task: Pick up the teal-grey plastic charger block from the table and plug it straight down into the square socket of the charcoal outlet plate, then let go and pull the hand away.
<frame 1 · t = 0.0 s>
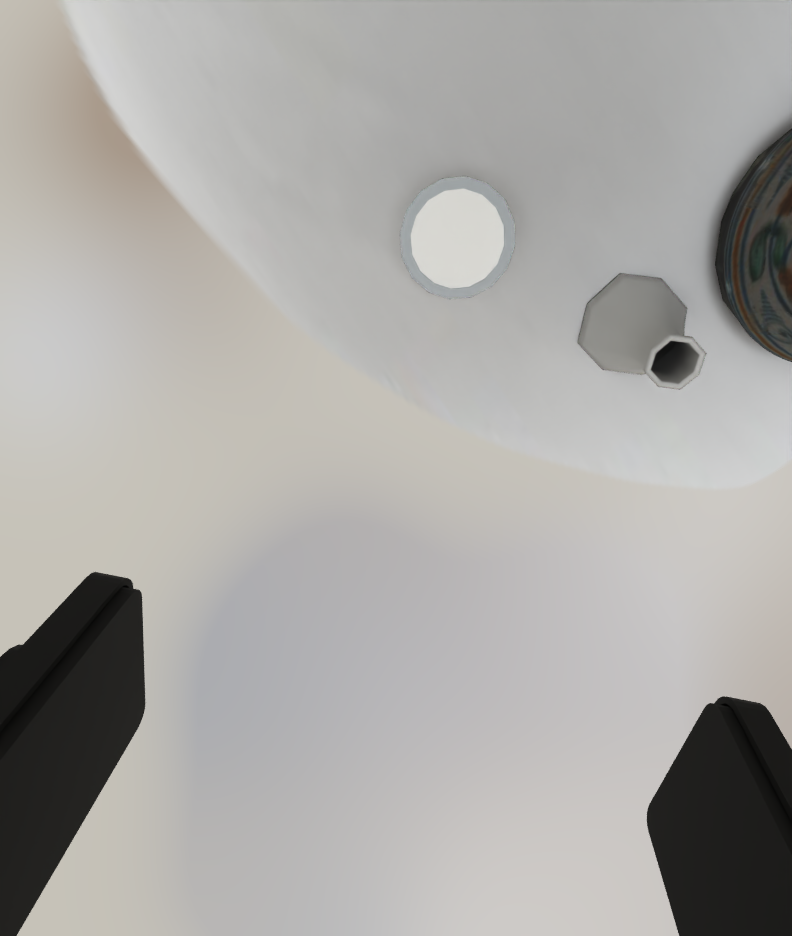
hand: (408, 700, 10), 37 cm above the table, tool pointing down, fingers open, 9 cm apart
grey cylinder: (457, 231, 41), on the table
flask: (629, 324, 43), on the table
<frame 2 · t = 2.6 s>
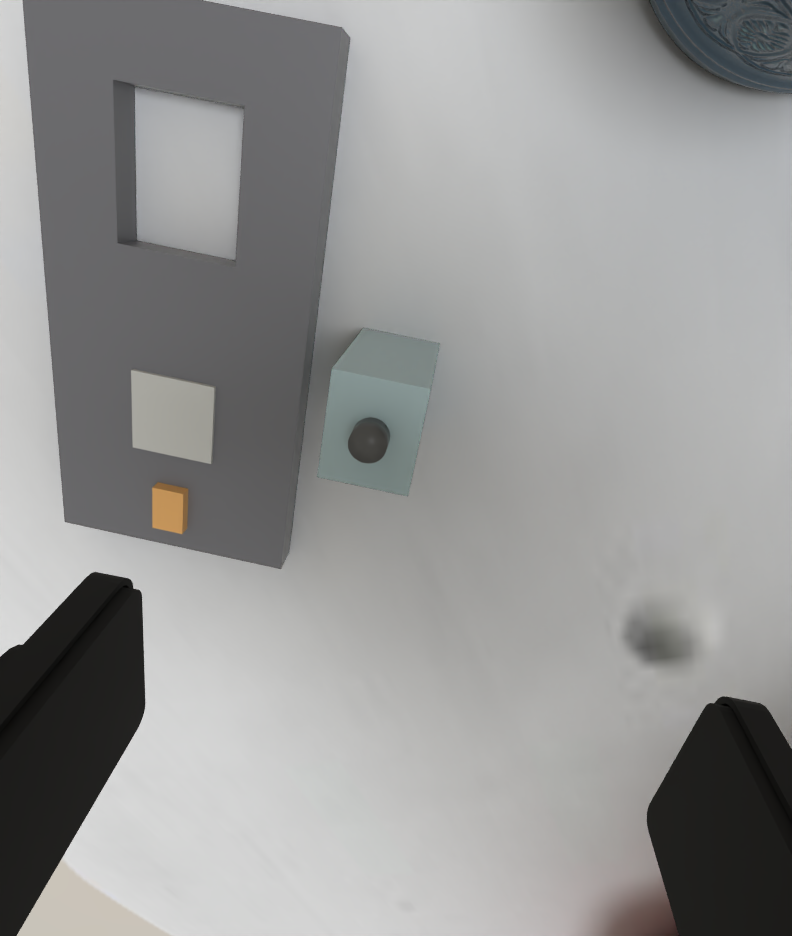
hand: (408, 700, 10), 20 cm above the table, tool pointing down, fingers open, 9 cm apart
charger: (393, 380, 28), on the table
outlet plate: (190, 317, 28), on the table
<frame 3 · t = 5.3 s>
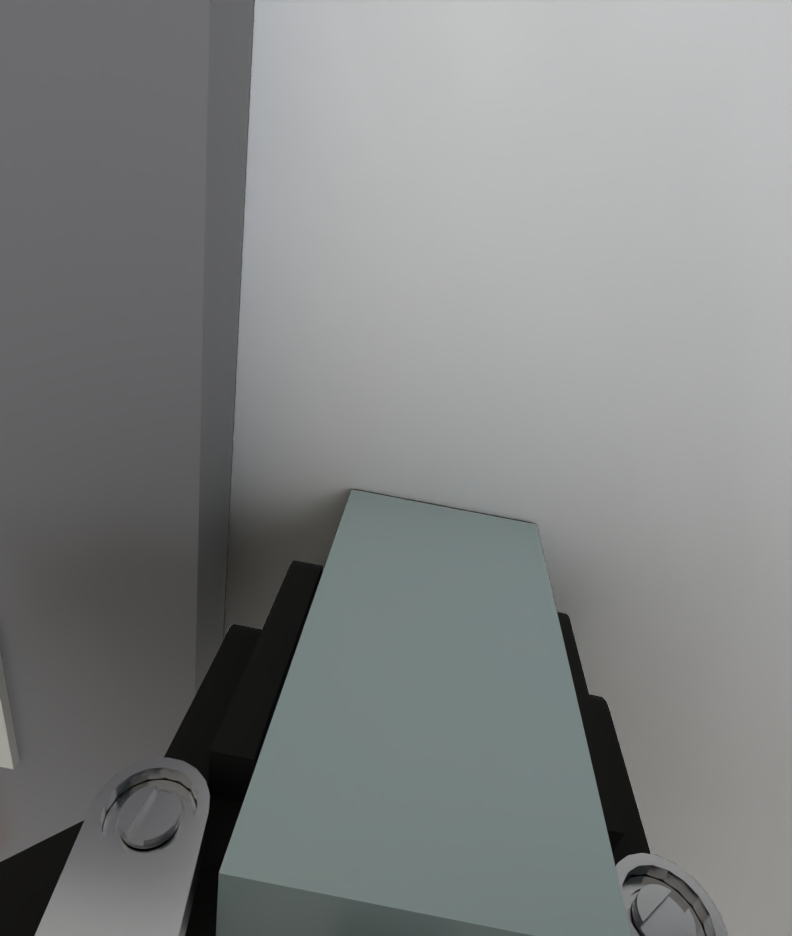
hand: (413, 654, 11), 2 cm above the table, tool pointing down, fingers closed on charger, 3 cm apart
charger: (423, 597, 12), on the table, touching gripper
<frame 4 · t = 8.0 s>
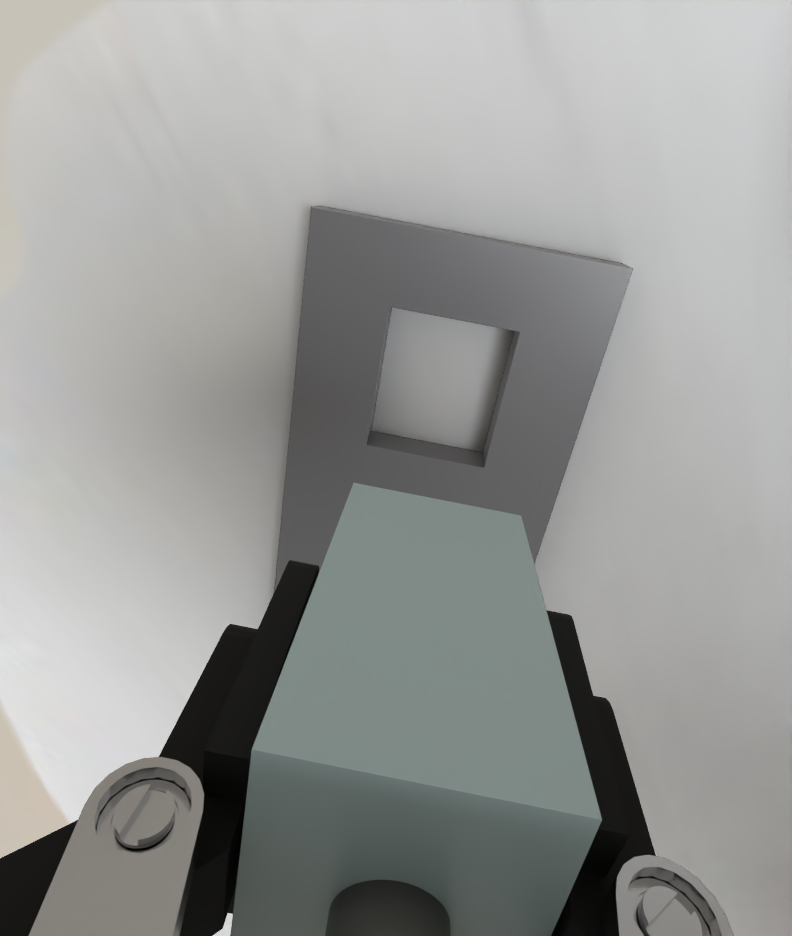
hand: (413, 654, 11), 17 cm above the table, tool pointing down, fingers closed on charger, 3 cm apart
charger: (417, 586, 13), point 14 cm above the table, touching gripper
outlet plate: (415, 498, 28), on the table
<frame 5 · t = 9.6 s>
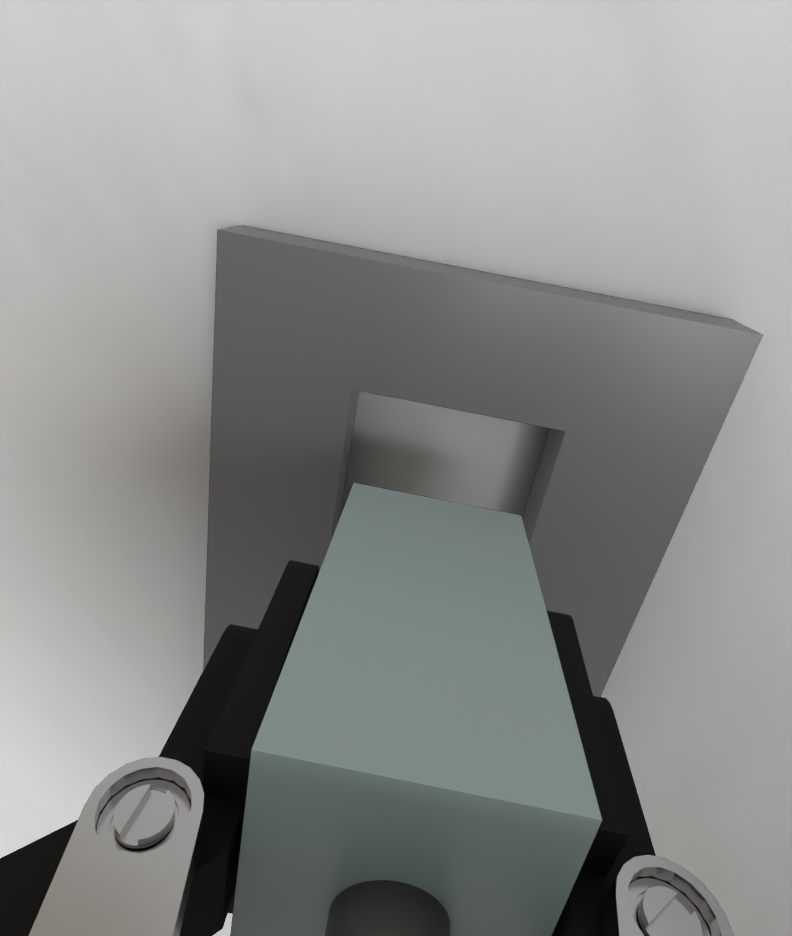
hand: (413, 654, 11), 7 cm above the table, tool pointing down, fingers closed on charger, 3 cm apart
charger: (417, 586, 13), point 4 cm above the table, touching gripper
outlet plate: (400, 645, 19), on the table
when the fingers open (3 cm above the table, at t = 10.8 s): charger stays where it is, resting in outlet plate.
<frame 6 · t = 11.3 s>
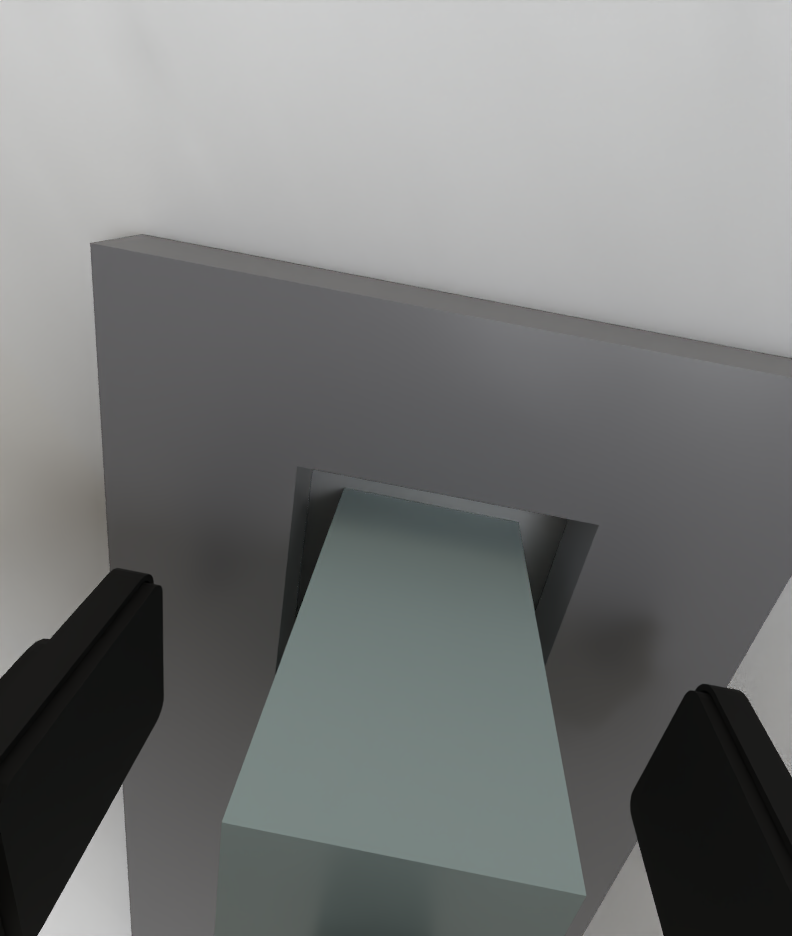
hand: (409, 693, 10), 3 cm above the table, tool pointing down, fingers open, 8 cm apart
charger: (411, 590, 13), resting in outlet plate
outlet plate: (377, 762, 15), on the table
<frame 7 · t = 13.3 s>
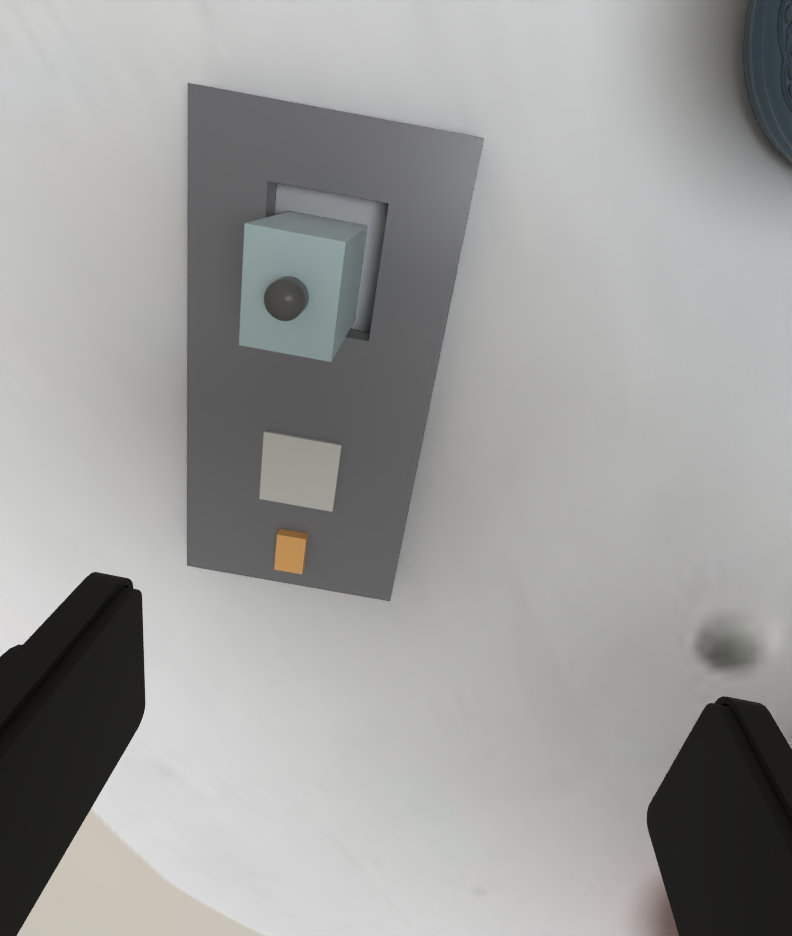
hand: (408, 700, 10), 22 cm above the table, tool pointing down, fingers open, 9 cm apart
charger: (323, 268, 28), resting in outlet plate
outlet plate: (314, 381, 30), on the table
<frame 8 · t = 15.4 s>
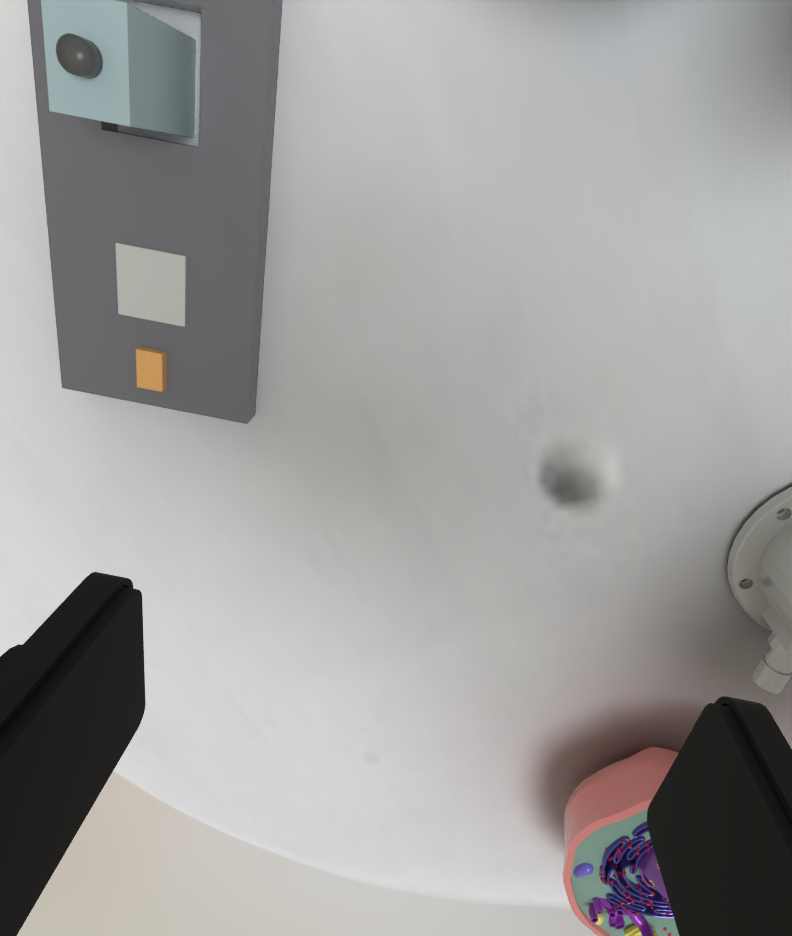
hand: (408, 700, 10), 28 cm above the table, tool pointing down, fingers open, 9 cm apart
charger: (161, 84, 31), resting in outlet plate
outlet plate: (164, 200, 34), on the table
cell model: (647, 782, 51), on the table
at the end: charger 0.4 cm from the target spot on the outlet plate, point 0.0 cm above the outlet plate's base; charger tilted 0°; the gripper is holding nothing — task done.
